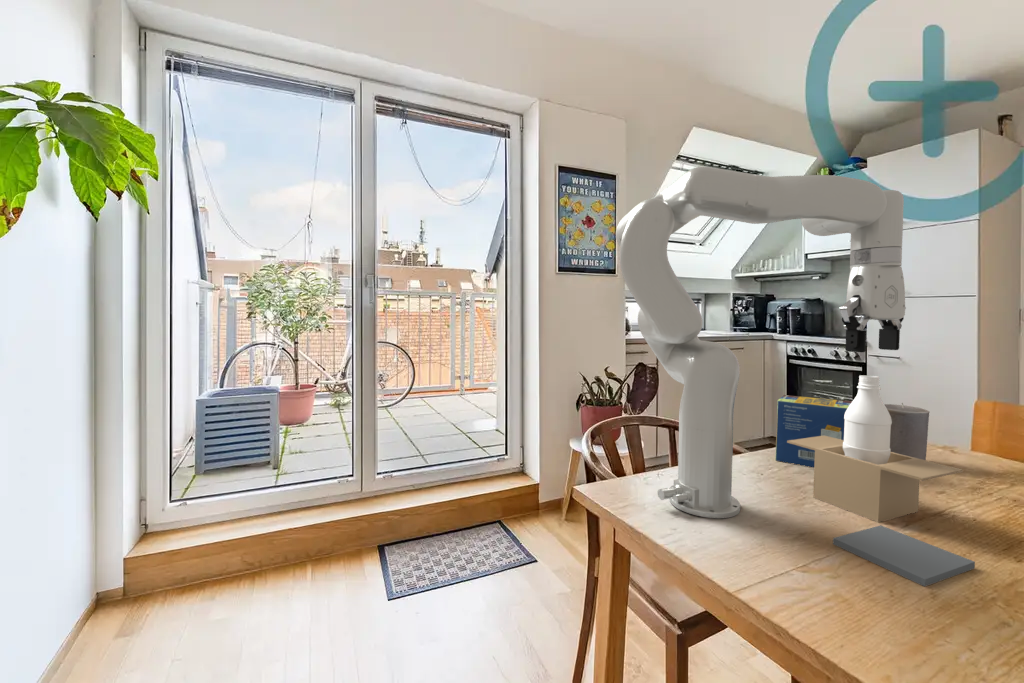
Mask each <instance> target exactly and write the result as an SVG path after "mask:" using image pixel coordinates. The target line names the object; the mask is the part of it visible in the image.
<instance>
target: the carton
mask: <svg viewBox="0 0 1024 683" xmlns="http://www.w3.org/2000/svg"><path fill="white" fill-rule="evenodd" d="M843 442H844V440H841V439H837V438H833V437H828V436H817V437H810V438H803V439H796V440H789V441H787V443H790V444H794V445H797V446H801V447H804V448H808V449H811V450H815V463H814V467H813V468H814V469H813V488H812V489H813V490H812V491H813V493H812V494H813V495H812V496H813V497H812V498H813V499H815V500H816V499H817V500H818V501H821V502H825V503H826V504H829V505H832V506H834V507H837V508H840V509H843V510H845V511H847V510H848V512H850V513H852V512H853V514H855V515H858V516H860V515H861V517H863V518H866V519H868V518H869V520H872V521H873V522H876V523H880V522H884V521H888V520H892V519H896V518H900V517H904V516H908V515H911V514H910V513H912V514H916V513H918V512H919V498H920V482H921V481H922V482H923V481H928V480H933V479H936V478H942V477H946V476H949V475H954V474H955V475H956V474H958V473H959V474H960V473H963V472H964V469H962V468H958V467H954V466H950V465H946V464H942V463H938V462H934V461H930V460H927V459H926V460H922V459H918V458H914V457H910V456H906V455H902V454H898V453H893V452H890V457H889V459H888V462H887V463H886V464H880V465H877V464H874V463H870V462H866V461H863V460H859V459H855V458H852V457H848V456H845V453H844V450H843ZM915 512H916V513H915ZM907 514H908V515H907Z"/></svg>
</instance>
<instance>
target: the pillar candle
mask: <svg viewBox="0 0 1024 683" xmlns="http://www.w3.org/2000/svg"><path fill="white" fill-rule="evenodd" d="M884 405H885V406H886V408H887V410H888V412H889V414H890V416H891V420H892V424H891V430H890V449H891V452H893V453H898V454H902V455H906V456H910V457H914V458H918V459H922V460H926V461H927V450H928V449H927V448H928V435H929V434H928V432H929V420H930V411H929V410H927V409H925V408H921V407H916V406H911V405H904V403H903V402H902V403H901V404H895V403H894V404H890V403H889V404H888V403H887V404H886V403H884Z"/></svg>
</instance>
